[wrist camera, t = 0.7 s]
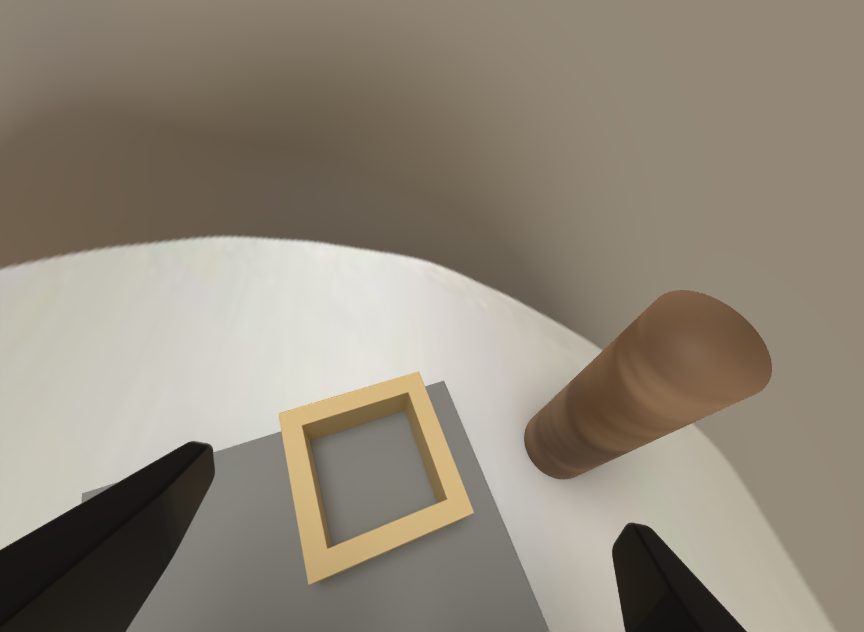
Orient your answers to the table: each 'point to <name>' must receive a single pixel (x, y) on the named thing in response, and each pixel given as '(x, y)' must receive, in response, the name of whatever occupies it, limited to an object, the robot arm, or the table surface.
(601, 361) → the walnut post
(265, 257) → the table surface
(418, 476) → the bracket board
